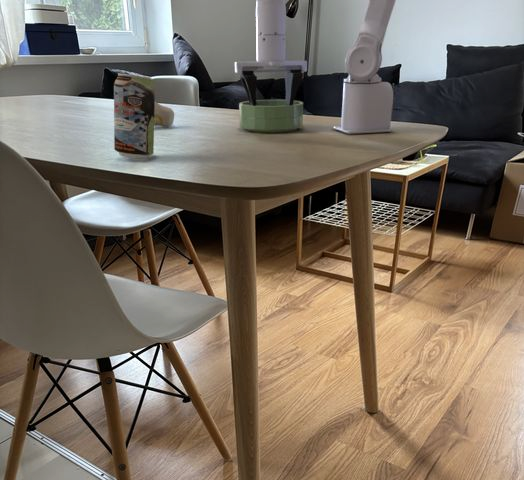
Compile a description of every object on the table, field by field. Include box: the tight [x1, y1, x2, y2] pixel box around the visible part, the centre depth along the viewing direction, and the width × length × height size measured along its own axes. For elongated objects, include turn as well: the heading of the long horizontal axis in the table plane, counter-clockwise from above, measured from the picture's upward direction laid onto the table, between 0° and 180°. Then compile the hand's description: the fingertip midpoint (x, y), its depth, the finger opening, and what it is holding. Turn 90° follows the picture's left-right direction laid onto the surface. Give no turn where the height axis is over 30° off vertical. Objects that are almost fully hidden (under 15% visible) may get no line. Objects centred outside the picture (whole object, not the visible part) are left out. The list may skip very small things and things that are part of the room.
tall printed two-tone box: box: [113, 72, 156, 159], centre depth 79 cm, size 6×7×12 cm
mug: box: [154, 101, 175, 128], centre depth 110 cm, size 8×10×10 cm
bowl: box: [238, 99, 304, 134], centre depth 107 cm, size 13×13×5 cm
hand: (271, 111), depth 106 cm, fingers open, 7 cm apart
